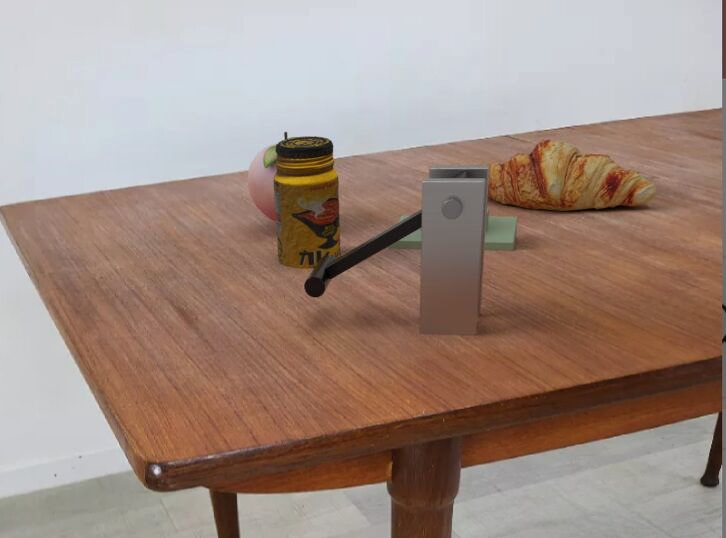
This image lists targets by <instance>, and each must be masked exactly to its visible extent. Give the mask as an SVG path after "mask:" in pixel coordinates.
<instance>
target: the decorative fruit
mask: <svg viewBox="0 0 726 538" xmlns="http://www.w3.org/2000/svg"><path fill="white" fill-rule="evenodd" d="M283 136H284V140H285V139H290V138H295V137H296V136H291V137H288V132H287V131H284V132H283ZM277 144H278V143H273V144H270V145H268V146H266V147H263V148H262V149H261V150H260V151H259V152H257V154H256V155H255V156H254V158H253V160H252V161H251V162H250V164H249V166H248V171H247V188H248V192H249V195H250V198H251V200H252V202H253V204H254V205H255V206H256V208H257V209H258V211H260V212H261V213H262V214H263V215H264V216H265V217H267V218H269V219H270V220H271V221H273V222H275V223H276V212H275V200H274V197H275V196H274V175H275V174H276V172H277V170H276V160H277V153H276V151H275V149H276V145H277Z"/></svg>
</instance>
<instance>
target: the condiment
mask: <svg viewBox="0 0 726 538" xmlns="http://www.w3.org/2000/svg"><path fill="white" fill-rule="evenodd" d="M294 137H295V138H291V137H289V138H290V139H288V138H287V139H285V138H284V139H282V140H280V141H278V142H277V143H276V144H277V145H276V149H275V151H276V153H277V160H276V170H277V172H276V174H275V175H274V196H275V197H274V200H275V212H276V222H275V226H276V227H275V228H276V243H277V244H276V246H277V256H278V258H277V259H278V263H279V264H280V265H282V266H285V267H289V268H293V269H300V270H301V269H314V268H315V266H316V265H317V263H318V262H319V260H320V259H321V258H322V257H323V256H326V255H331V256H333V257H335V258H336V259H337V258H339V257H341V256H342V253H341V225H340V223H341V222H340V197H339V196H340V195H339V190H340V189H339V188H340V185H339V184H340V181H339V174H338V172H337V170H336V169H335V168H334V165H335V159H334V143H333V141H332V140H331V139H329V138H328V137H323V136H318V135H317V136H316V135H314V136H309V135H308V136H294Z"/></svg>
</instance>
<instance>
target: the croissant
mask: <svg viewBox="0 0 726 538" xmlns="http://www.w3.org/2000/svg"><path fill="white" fill-rule="evenodd" d="M488 165H489V182H488V196H489V197H490V198H491V199H492V200H494V201H496V202H499V203H501V204H502V205H510V206H511V205H512V206H516V207H519V208H520V207H521V208H523V209H528V210H529V209H531V210H548V211H556V212H566V211H581V210H588V209H596V210H600V209H607V208H611V209H612V208H616V207H617V206H625V207H635V206H640V205H644V204H647V203H648V202H650V201H652V200H653V199H654V198H655V197H656V194H657V191H658V189H657V186H656V185H655V184H654V183H653V182H649V181H648V180H647V179H646V178H645V177H644V176H642V174H641V173H640V172H638V170H636V169H627V170H626V169H624V167H622V166H621V165H619V164H618V163H616V162H615V160H613V159H612V158H611V157H610V155H609V154H601V153H596V154H594V153H587V152H584V153H583V154H582V152H581V151H580V150H579V148H578V147H577V146H575V145H573V144H572V143H569V142H563V141H560V140H556V139H555V140H551V139H546V140H545V139H542V140H540V141H539V142H537V143H536V145H535V146H534V148H533V150H532V151H531V152H530V153H526V152H525V153H524V152H517V153H516V154H514V155H513V156H511V157H510V160H508V161H505V162H504V163H499V162H495V163H494V162H493V163H492V162H491V163H488Z"/></svg>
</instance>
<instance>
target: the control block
mask: <svg viewBox="0 0 726 538" xmlns="http://www.w3.org/2000/svg"><path fill="white" fill-rule="evenodd" d="M489 214H490V207H489V206H487V215H486V232H485V249H484V251H514V250H515V246H516V241H517V230H518V229H517V228H518V216H495V215H493V216H492V215H491V216H490V215H489ZM409 216H410V215H401V216H400V218H399V220H398V221H397V223H399V222H401V221H402V220H404V219H406V218H408V217H409ZM421 230H422V228H420V229H418V230H416V231H415V232H413V233H411V234H409V235H408V236H406V237H404V238H402V239H401V240H399V241H397V242H395V243H394V244H392V245H390V246H388V247H387V249H388V250H389V249H392V250H393V249H396V250H421Z"/></svg>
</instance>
